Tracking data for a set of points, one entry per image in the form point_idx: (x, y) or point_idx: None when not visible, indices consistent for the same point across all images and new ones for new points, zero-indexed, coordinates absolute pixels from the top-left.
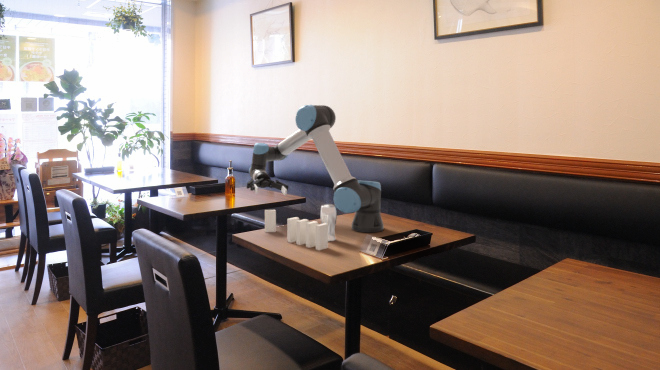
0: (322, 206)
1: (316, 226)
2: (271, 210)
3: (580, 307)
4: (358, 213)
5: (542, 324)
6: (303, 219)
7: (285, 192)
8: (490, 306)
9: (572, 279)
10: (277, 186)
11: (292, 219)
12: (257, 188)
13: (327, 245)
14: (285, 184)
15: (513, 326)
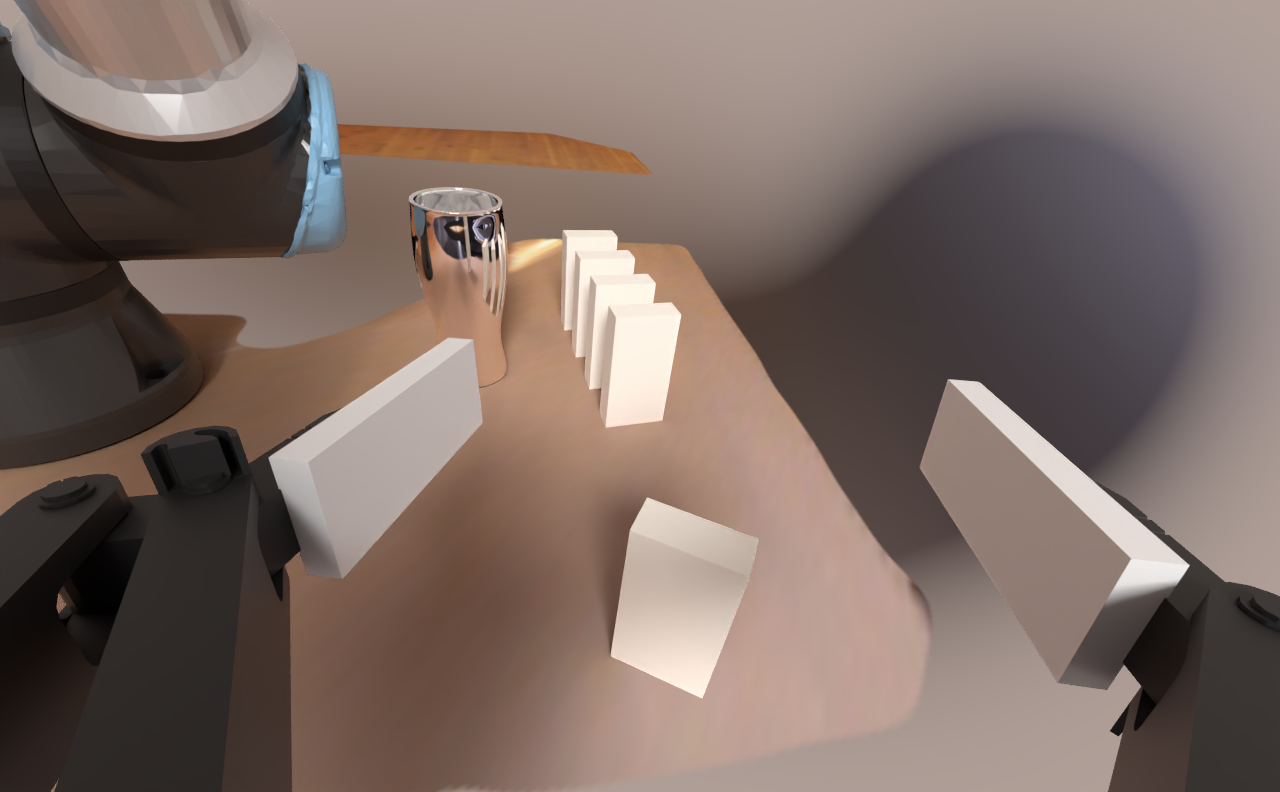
0: (500, 203)
1: (615, 241)
2: (688, 516)
3: (468, 143)
4: (111, 301)
5: (550, 151)
6: (609, 283)
7: (472, 379)
8: (552, 165)
9: (352, 144)
10: (265, 678)
11: (657, 305)
12: (965, 385)
13: (561, 313)
14: (173, 436)
15: (580, 157)
